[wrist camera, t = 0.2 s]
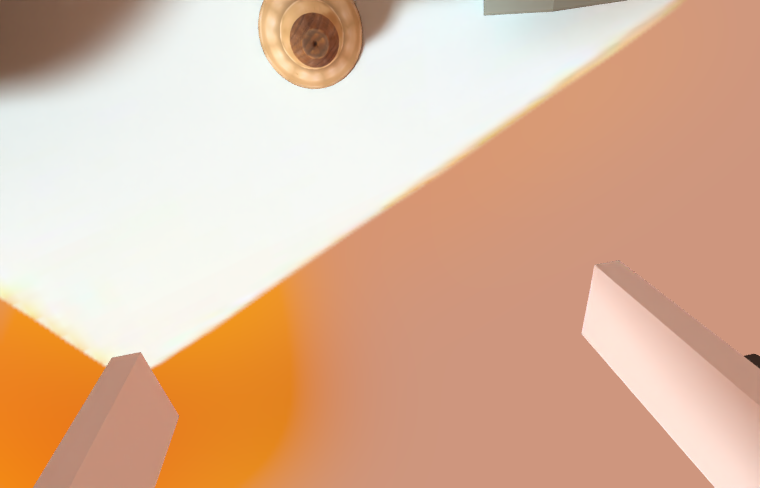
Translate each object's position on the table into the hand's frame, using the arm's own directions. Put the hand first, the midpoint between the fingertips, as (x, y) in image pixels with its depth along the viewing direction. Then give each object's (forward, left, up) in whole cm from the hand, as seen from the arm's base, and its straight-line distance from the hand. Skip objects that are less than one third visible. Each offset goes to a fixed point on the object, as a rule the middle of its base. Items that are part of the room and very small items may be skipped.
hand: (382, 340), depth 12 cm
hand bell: (-8, -1, -28) cm, 29 cm away
